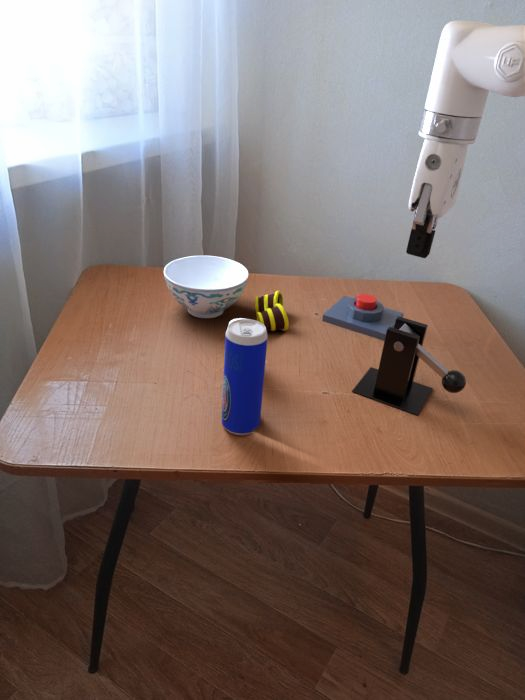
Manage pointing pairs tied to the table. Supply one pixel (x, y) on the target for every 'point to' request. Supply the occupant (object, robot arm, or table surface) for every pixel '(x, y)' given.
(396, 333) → the switch bracket
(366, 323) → the switch box
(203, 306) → the chinaware
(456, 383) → the switch lever
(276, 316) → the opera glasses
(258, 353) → the beverage can
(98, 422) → the table surface
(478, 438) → the table surface
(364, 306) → the button
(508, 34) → the robot arm
